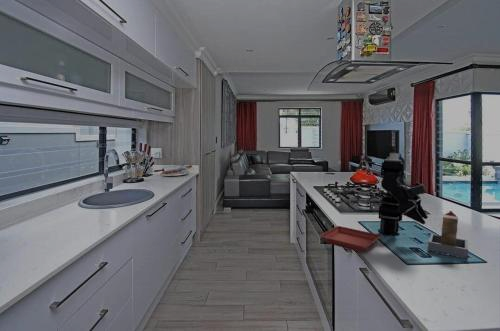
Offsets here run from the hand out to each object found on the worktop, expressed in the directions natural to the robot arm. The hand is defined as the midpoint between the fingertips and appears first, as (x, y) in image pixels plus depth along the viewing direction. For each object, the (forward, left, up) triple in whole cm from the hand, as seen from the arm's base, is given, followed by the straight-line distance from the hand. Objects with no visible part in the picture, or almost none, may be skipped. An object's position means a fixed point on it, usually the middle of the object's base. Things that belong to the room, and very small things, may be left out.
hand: (425, 221), depth 111 cm
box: (+6, -5, -10) cm, 12 cm away
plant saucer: (-27, +5, -10) cm, 30 cm away
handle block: (+6, -5, -9) cm, 12 cm away
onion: (+29, +21, -10) cm, 37 cm away
